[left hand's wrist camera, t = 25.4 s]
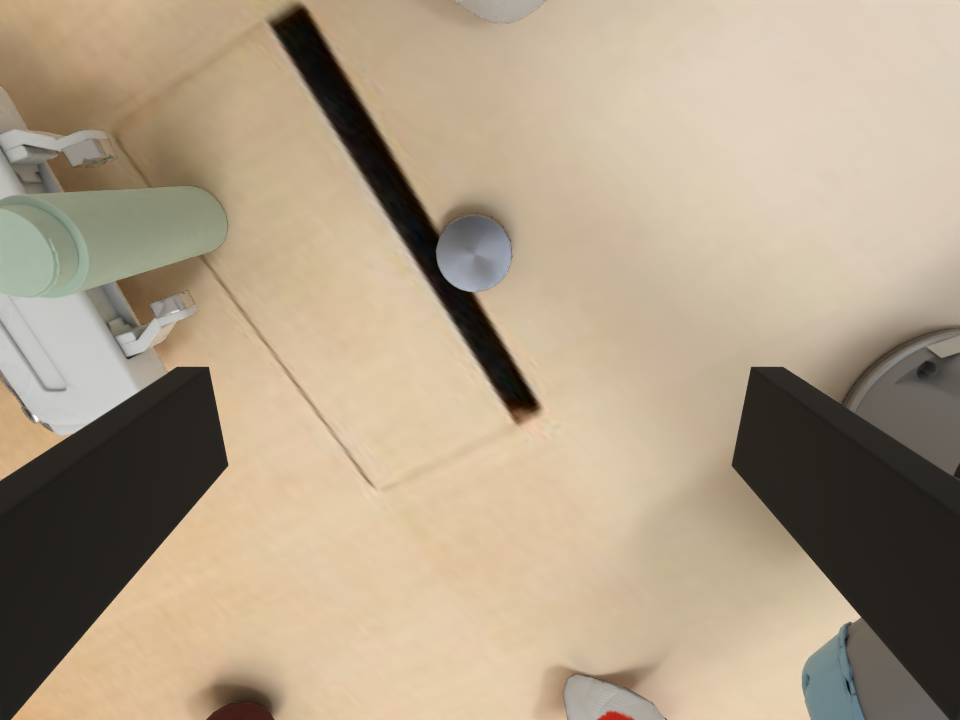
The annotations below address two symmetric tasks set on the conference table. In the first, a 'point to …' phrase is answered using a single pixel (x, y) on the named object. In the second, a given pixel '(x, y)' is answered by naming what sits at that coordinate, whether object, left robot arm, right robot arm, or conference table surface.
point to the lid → (474, 252)
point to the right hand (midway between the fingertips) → (149, 227)
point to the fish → (605, 701)
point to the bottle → (101, 236)
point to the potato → (241, 712)
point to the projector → (501, 9)
